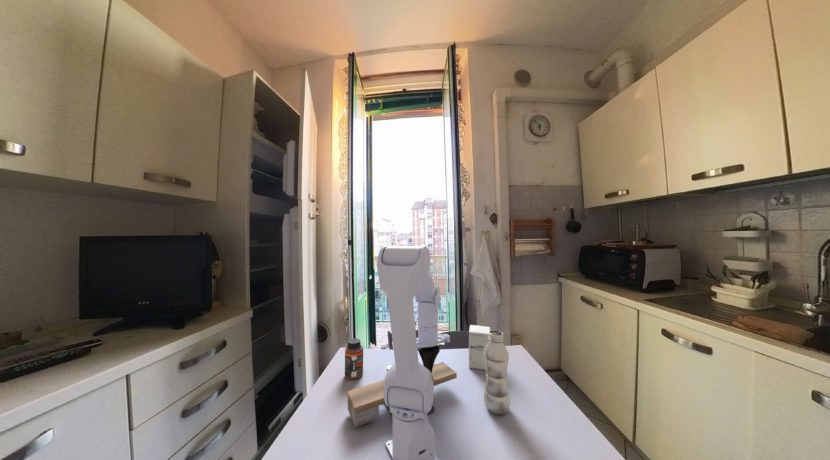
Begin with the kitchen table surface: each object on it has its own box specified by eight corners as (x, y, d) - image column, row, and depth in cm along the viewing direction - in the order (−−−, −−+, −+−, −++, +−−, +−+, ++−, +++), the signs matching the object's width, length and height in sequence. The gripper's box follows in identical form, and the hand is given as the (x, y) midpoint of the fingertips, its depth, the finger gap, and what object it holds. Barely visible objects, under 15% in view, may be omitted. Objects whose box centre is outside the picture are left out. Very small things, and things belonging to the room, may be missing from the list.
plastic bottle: (493, 421, 61) (492, 339, 61) (479, 403, 67) (478, 329, 68) (515, 415, 62) (514, 336, 63) (499, 398, 69) (498, 327, 69)
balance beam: (456, 388, 72) (456, 372, 72) (354, 427, 57) (354, 407, 57) (442, 376, 78) (442, 361, 78) (347, 408, 63) (347, 391, 63)
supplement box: (468, 368, 85) (468, 331, 85) (469, 358, 92) (469, 324, 92) (490, 371, 83) (490, 333, 83) (490, 360, 90) (490, 326, 90)
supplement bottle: (358, 381, 77) (358, 345, 77) (341, 379, 78) (341, 343, 79) (366, 371, 83) (366, 337, 83) (349, 369, 84) (349, 336, 84)
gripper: (440, 316, 78) (440, 359, 78) (399, 324, 71) (399, 371, 71) (454, 323, 72) (454, 369, 72) (410, 333, 65) (411, 384, 65)
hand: (428, 371), depth 71 cm, fingers closed
